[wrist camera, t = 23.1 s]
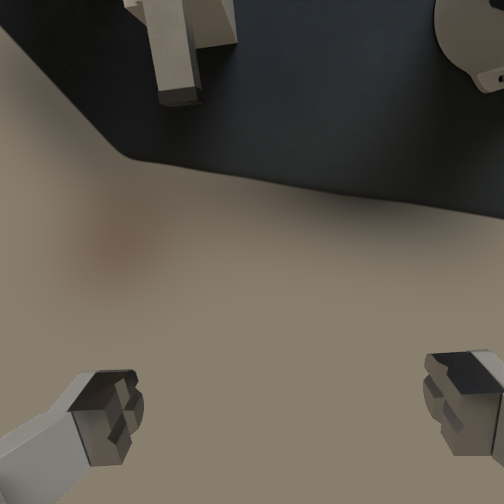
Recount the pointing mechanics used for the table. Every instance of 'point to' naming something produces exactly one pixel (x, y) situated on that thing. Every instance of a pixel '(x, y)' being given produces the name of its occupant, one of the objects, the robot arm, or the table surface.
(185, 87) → the grey square bar
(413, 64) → the table surface
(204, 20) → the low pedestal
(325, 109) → the table surface
